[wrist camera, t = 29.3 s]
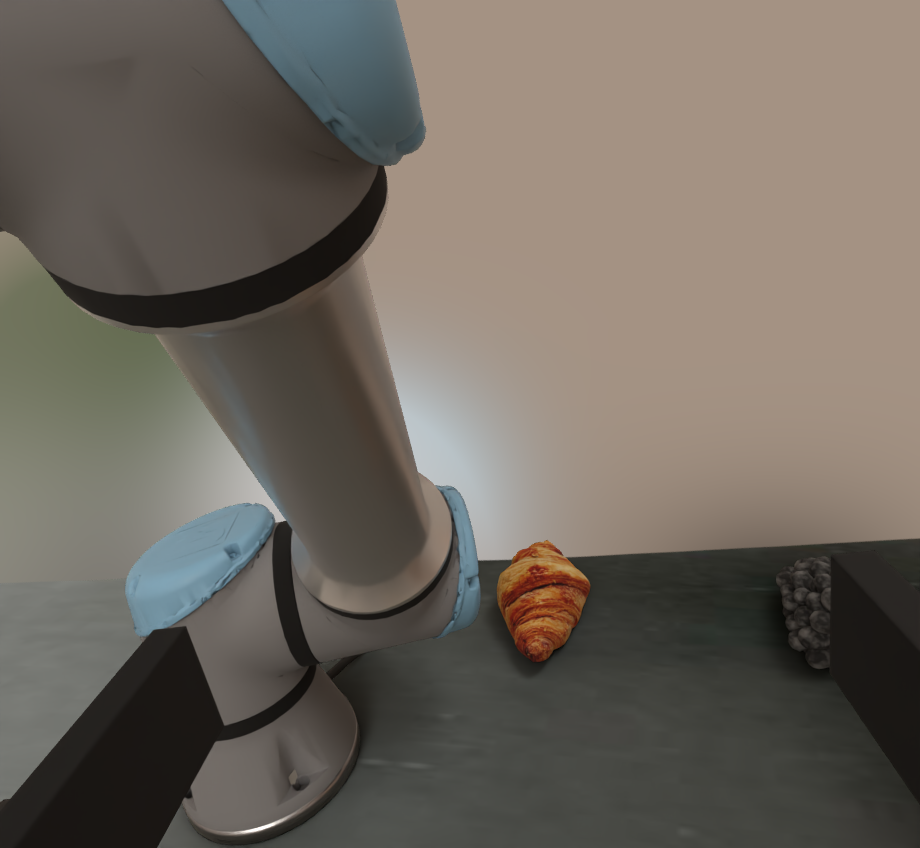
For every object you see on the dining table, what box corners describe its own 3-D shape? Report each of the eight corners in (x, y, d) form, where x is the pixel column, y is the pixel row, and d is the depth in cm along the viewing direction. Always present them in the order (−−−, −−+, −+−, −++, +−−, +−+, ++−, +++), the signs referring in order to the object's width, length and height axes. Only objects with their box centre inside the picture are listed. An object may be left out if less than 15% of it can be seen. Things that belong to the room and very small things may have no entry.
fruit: (777, 507, 62) (821, 594, 48) (865, 528, 61) (937, 623, 47) (750, 578, 65) (784, 678, 52) (834, 599, 64) (891, 708, 50)
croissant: (528, 582, 80) (491, 536, 78) (594, 544, 76) (556, 496, 75) (518, 704, 60) (468, 645, 58) (606, 660, 57) (555, 597, 55)
